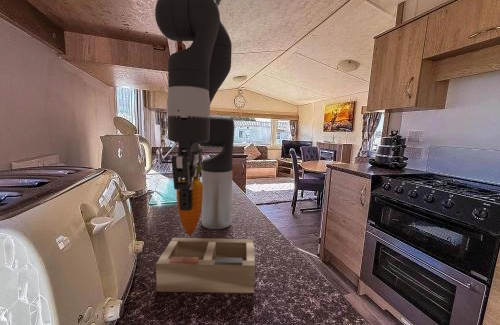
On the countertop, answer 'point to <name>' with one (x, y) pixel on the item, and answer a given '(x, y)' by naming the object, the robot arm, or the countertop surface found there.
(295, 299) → the countertop surface
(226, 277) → the frame
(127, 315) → the countertop surface
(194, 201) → the carrot
